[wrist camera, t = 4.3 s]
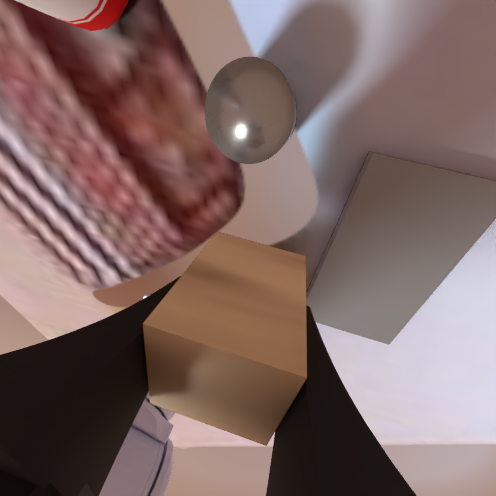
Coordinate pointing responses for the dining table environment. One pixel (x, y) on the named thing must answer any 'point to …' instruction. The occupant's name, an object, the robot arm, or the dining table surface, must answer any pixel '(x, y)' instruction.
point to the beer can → (81, 11)
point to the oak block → (231, 338)
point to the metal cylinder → (250, 110)
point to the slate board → (397, 244)
